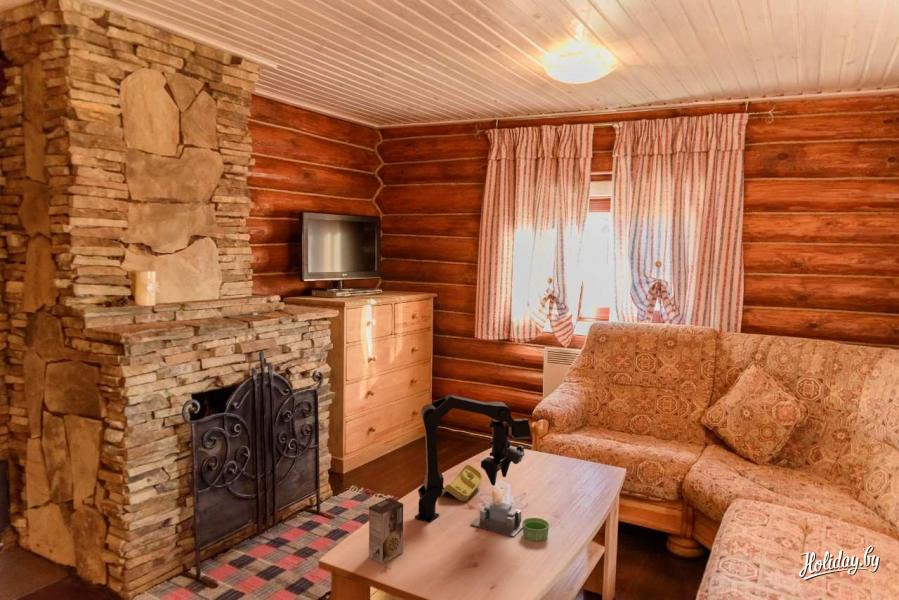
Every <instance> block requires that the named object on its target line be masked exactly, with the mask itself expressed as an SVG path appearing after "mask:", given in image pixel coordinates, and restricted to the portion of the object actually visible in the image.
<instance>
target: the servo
mask: <svg viewBox="0 0 899 600" xmlns="http://www.w3.org/2000/svg"><path fill="white" fill-rule="evenodd" d="M512 506H513V505H512V504H507V503H503V502H502V501H500V500H495V501H493V502H488V503H486V504H485V506H483V508H484V509H487V510H490V520H493V521H497V522H500V523H504V524H506V521H507V517H508V516H509V515H510V516H514V515H515V514H516V513H517V512H518V510H519V509H517V510H516V509H514V508H513V507H512Z"/></svg>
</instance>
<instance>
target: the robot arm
mask: <svg viewBox="0 0 899 600" xmlns="http://www.w3.org/2000/svg"><path fill="white" fill-rule="evenodd" d="M452 409H455V410H460V411H465V412H471V413H476V414H480V415H484V416H486V417H489V418H490V420H489V421H488V422H487V423H486V425H487V427H488V428H492V432H491V433H492V434H491V436H492V437H491V440H490V442H489V445H491V451H490V452H489V456H490V457H489V456H487V457H486V458H484V459H483V460H481V461H480V468H481V469H482V470H484V472H485V474H486V476H487V478H488V479H489V482H490V485H491V486H493V487H494V486H496V483H497V477H498V472H499V471H500V472H501V476H502V477H503V478H506V477H507V474H508V471H509V468H510V465H511V463H512V464H515V465H518V464H519V463H521V461H522V459H523V457H524V456H525V447H524V446H523V445H518V446H517V447H516V446H512V442H511V440H509V436H510V437H511V438H513V439H530V438H531V433H532V432H531V427H530V422H529V419H528V418H513V416H511V413H512V412H511V409H510V408H509V407H508V406H507V405H506V403H504V402H502V401H488V402H487V401H479V400H475V399H473V398H466V397H463V396H462V397H461V396H457V395H453V394H447V395H446V396H444V397H442V398H440V399H437V400H436V401H433V402H431V403H429V404H425V405H423V407H422V408H421V410H420V415H421V419H422V424H423V428H424V431H425V432H424V433H425V434H424V435H425V437H424V438H425V460H426V470H425V475H424V482H423V485H421V486H420V488H418V489H417V493H418V496H419V499H418V511H417V512H418V513H417V514H416V515H414V518H415V519H417V520H421V521H424V522H427V523H430V522H432V521H434V520H435V519H436V518H438V517H439V516H440V513H438V512H436V511H437V510H436V509H437V508H436V506H437V505H436V503H437V501H438V499H439V498H440V497H442V496H441V495H442V490H444V488H445V487H444V481H445V480H444V475H443V473H442V471H439V463H438V462H439V460H438V439H437V438H438V437H437V432H438V428H439V424H440V419H441V418H443V417H445V416H446V415H447V414H448V413H449V412H450V411H451V410H452Z"/></svg>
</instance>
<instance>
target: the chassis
mask: <svg viewBox="0 0 899 600" xmlns="http://www.w3.org/2000/svg"><path fill="white" fill-rule="evenodd" d="M515 510H518V512H517V513H516V514H515V515H514V516H510V515H509V516H508V517H507V521H506V524H504V523H500V522H497V521H493V520H490V510H487V509H484V507H483V508H481V510H479V516H478V517H477V518H475V520H474V521H473V522H471V523H470V526H472V527H475V528H479V529H482V530H485V531H489V532H493V533H497V534H500V535H503V536H507V537H510V538H515V537H516V536H517V535H518V533H519V532H520V531H521V530H523V526H522V521H523V520H525V519H526V518H524V517H522V510H521V509H518V508H517V509H515Z"/></svg>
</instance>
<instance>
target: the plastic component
mask: <svg viewBox="0 0 899 600" xmlns="http://www.w3.org/2000/svg"><path fill="white" fill-rule="evenodd" d="M483 478H484V477H483V474H482V472H481V471H480V470H479V469H477V468H476V467H475V466H473V465H472V464H469V463H468V464H466V465H465V466H464V467H463V469H462V470H461V471H460V472H459V473H458V474H457V476H455V478H454V479H453V480H452V481H451V482H450V483H447V484H445V487H444V490H443V489H442V495H441V496H440V497H443V496H444V495H445V494H446V493H447V492H448V493H449V494H450V495H452V496H453V497H454V498H455V499H457V500H459V501H462V502H466V501H468V499H469V498H470V497H471V496H472V494H474V493H475V491H476V490H477V488H478V487H479V485H480V484H481V483H482V481H483Z"/></svg>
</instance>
